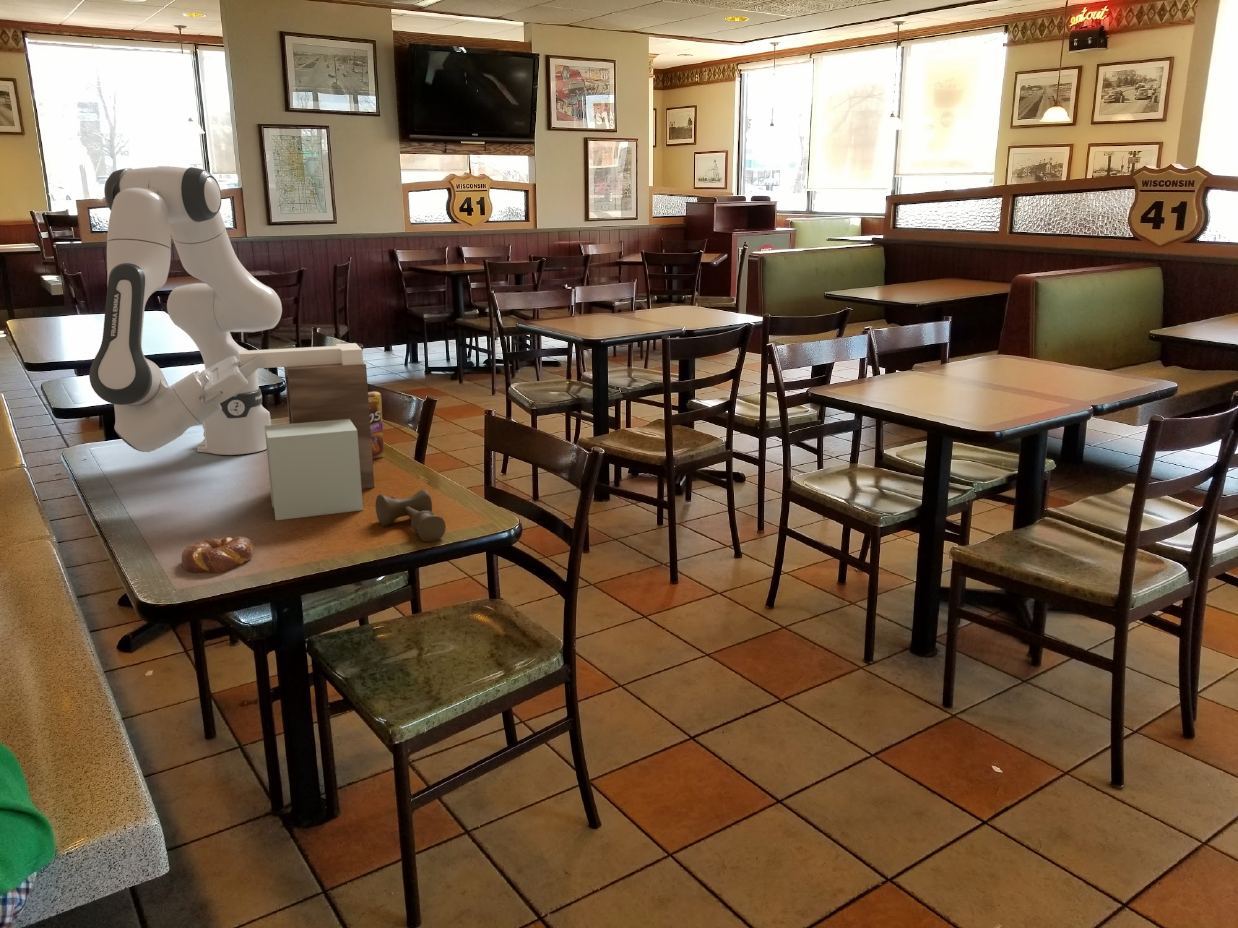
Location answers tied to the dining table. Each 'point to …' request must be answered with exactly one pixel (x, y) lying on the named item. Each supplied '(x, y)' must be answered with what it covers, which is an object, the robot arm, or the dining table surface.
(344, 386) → the tall stand
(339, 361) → the T-piece
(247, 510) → the dining table surface
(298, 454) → the pale green rectangular block
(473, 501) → the dining table surface
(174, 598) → the dining table surface
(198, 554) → the pretzel
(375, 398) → the candy box
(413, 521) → the kendama
